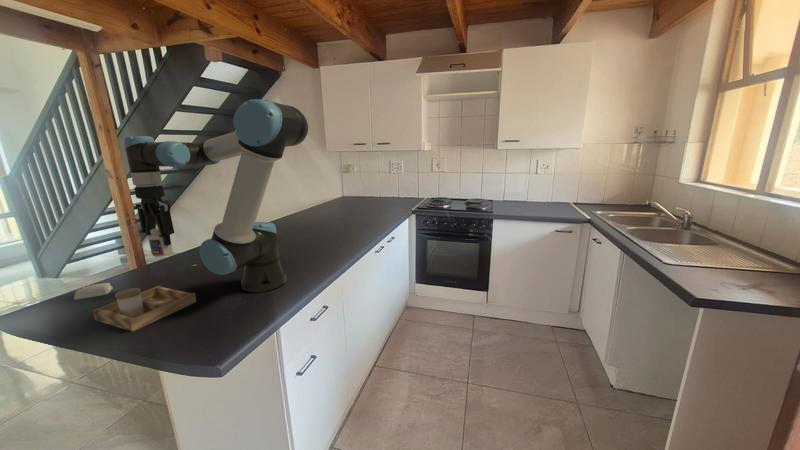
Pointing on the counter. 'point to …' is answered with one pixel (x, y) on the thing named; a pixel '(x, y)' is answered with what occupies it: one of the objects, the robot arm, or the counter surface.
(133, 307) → the jar
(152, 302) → the caddy
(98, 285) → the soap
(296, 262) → the counter surface
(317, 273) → the counter surface
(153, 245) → the pill bottle
